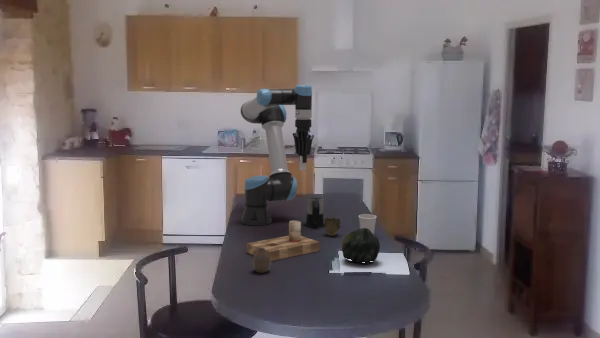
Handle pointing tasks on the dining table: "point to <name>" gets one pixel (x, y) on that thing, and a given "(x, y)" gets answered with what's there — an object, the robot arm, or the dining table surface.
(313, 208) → the milk frother
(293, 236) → the beech peg
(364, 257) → the squash
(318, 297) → the dining table surface
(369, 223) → the dixie cup
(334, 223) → the wire cup brush
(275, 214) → the dining table surface
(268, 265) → the vase
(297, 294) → the dining table surface
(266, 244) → the oak board
